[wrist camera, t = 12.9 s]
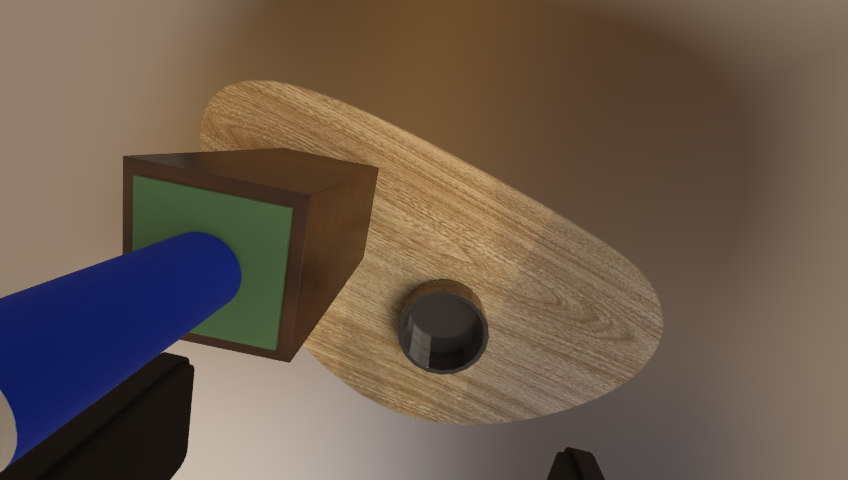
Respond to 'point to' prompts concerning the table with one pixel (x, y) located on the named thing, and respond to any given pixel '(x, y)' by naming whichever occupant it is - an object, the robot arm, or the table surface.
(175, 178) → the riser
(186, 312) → the beverage can
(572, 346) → the table surface
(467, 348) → the bowl
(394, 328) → the table surface
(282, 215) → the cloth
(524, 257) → the table surface
